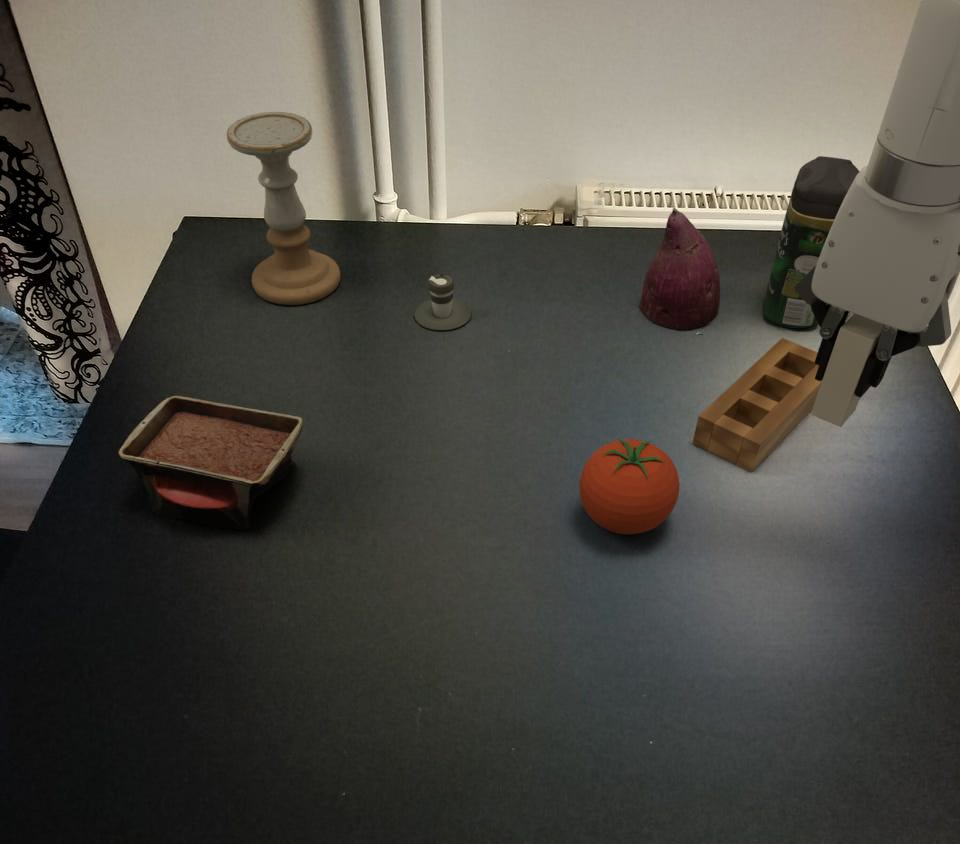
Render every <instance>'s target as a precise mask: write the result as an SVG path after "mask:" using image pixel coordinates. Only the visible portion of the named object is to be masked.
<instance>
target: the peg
mask: <svg viewBox="0 0 960 844" xmlns="http://www.w3.org/2000/svg"><path fill="white" fill-rule="evenodd" d="M882 328H883V324H881V323H879V322H876V321H873V320H870V319H867V318H865V317H862V316H859V315H857V314H854V313H852V315H851V316H850V317H849V318H848V319H847V321H846V322H845V324H844V325H843V326H842V327H841V328H840V330H839V333H838V336H837V339H836V342H835V345H834V348H833V351H832V354H831V357H830V359H829V362H828V365H827V368H826V371H825V374H824V377H823V380H822V383H821V386H820V389H819V391H818V394H817V397H816V400H815V403H814V406H813V409H812V410H811V411H810V415H811V416H814V417H816V418H819V419H820V420H822V421H826V422H828V423H830V424H832V425H834V426H836V427H837V426H838V427H839V428H841V427H842V426H843V425H844V424H845V423H846V422H847V421H848V420H849V418H850V417H852V415H853V414H854V412H856V409H857V407H858V404H859V401H860V399H861V398H860V397H857V396H855V394H854V392H855V390H856V387H857V384H858V382H859V379H860V376H861V374H862V371H863V369H864V366H865V363H866V361H867V359H868V357H869V356H870V355H871V354H872V352H873V351H874V350H875V348H876V346H877V345H878V343H879V339H880V335H881V331H882Z"/></svg>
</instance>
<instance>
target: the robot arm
mask: <svg viewBox="0 0 960 844" xmlns="http://www.w3.org/2000/svg"><path fill="white" fill-rule="evenodd" d="M908 36H909V37H908V39H907V42H906V45H905V48H904V52H903V55H902V59H901V61H900V64H899V67H898V70H897V74H896V77H895V80H894V82H893V86H892V88H891V91H890V96H889V99H888V102H887V105H886V108H885V110H884V114H883V118H882V120H881V124H880V127H879V130H878V134H877V135H876V139H875V143H874V145H873V148H872V152H871V154H870V158H869V161H868V165H865V166H863V167H862V168H861V169H860V170H859V171H860V172H859V173H858V174H857V176H856V177H855V179H854V181H853V183H852V184H851V186H850V188H849V190H848V192H847V194H846V196H845V198H844V200H843V202H842V204H841V206H840V209H839V211H838V213H837V215H836V217H835V220H834V222H833V224H832V227H831V229H830V231H829V234H828V236H827V239H826V241H825V244H824V246H823V249H822V251H821V254H820V257H819V259H818V262H817V265H816V266H815V267H813V268H812V269H811V270H810V271H809V272H808V273H807V274H806V275H805V276H804V277H803V278H802V279H801V280H800V281H799V282H798V283H797V284H796V286H795V291H796V292H797V293H798V295H799V296H800V297H801V298H802V299H803V300H804V301H805V302H806V303H807V304H809V305H810V306H811V310H812V312H813V314H814V316H815V318H816V320H817V322H818V323H817V324H818V326H819V331H818V332H819V336H820V337H821V341H820V343H819V347H818V351H817V352H818V353H817V356H816V359H815V364H817V365H819V367H818V370H817V373H816V376H815V380H818V381H821V380H823V377H824V374H825V371H826V368H827V365H828V362H829V359H830V357H831V354H832V351H833V348H834V345H835V342H836V339H837V336H838V333H839V330H840V328H841V327H842V326H843V325H844V324H845V323H846V322H847V321H848V319H849V316H850V314H851V313H852V314H857V315H859V316H862V317H865V318H867V319H870V320H873V321H876V322H879V323H881V324H883V328H882V331H881V335H880V339H879V343H878V345H877V346H876V348H875V350H874V351H873V352H872V354H871V355H870V356H869V357H868V359H867V361H866V363H865V366H864V369H863V371H862V374H861V376H860V379H859V382H858V384H857V387H856V390H855V392H854V394H855V396H857V397H860V399H862V397H863V396H864V395H865V394H866V393H867V391H868V390H869V389H870V388H871V387H872V388H875V389H876V388H878V387H879V385H880V384H881V383H882V380H883V379H884V376H885V374H886V371H887V369H888V367H889V364H890V361H891V360H892V357H894V356H896V355H899V354H901V353H904V352H907V351H909V350H913V349H915V348H916V347H921V348H922V347H933V346H941V345H943V344H945V343H946V341H947V340H948V339H949V338H950V337H951V336H952V325H951V317H950V308H949V299H950V297H951V295H952V292H953V290H954V288H955V286H956V283H957V280H958V277H959V274H960V0H920V3H919V6H918V9H917V11H916V15H915V17H914V21H913V24H912V27H911V30H910V33H909V35H908Z"/></svg>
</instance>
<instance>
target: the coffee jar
mask: <svg viewBox="0 0 960 844" xmlns="http://www.w3.org/2000/svg"><path fill="white" fill-rule="evenodd" d="M860 171H861V170H859V168H857V166H855V164H854V163H853V162H852V160H851V159H846V158H839V157H832V156H822V155H819V156H817V157H816V158H814V159H811V160H810V161H808V162H806V163H804V164H803V165H802V166H801V167H800V168H799V171H798V173H797V176H796V177H795V181H794V184H793V187H792V191H791V194H790V198H789V201H788V204H787V208H786V212H785V215H784V218H783V222H782V227H781V230H780V233H779V238H778V243H777V246H776V250H775V255H774V259H773V263H772V267H771V271H770V275H769V278H768V283H767V287H766V291H765V294H764V300H763V314H764V317H765V319H766V320H768V321H770V322H772V323H774V324H776V325H778V326H780V327H784V328H788V329H804V328H811V327H812V328H813V327H815V326H816V325H817V324H818V322H817V320H816V318H815V316H814V314H813V312H812V310H811V306H810V305H809V304H807V303H806V302H805V301H804V300H803V299H802V298H801V297H800V296H799V295H798V293H797V292H796V291H795V286H796V284H797V283H798V282H799V281H800V280H801V279H802V278H803V277H804V276H805V275H806V274H807V273H808V272H809V271H810V270H811V269H812V268H813V267H815V266H816V265H817V262H818V259H819V257H820V254H821V251H822V249H823V246H824V244H825V241H826V239H827V236H828V234H829V231H830V229H831V227H832V224H833V222H834V220H835V217H836V215H837V213H838V211H839V209H840V206H841V204H842V202H843V200H844V198H845V196H846V194H847V192H848V190H849V188H850V186H851V184H852V183H853V181H854V179H855V177H856V176H857V174H858V173H859V172H860Z"/></svg>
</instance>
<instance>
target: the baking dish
mask: <svg viewBox="0 0 960 844" xmlns="http://www.w3.org/2000/svg"><path fill="white" fill-rule="evenodd" d="M303 423H304V421H303V417H302V416H299V415H290V414H284V413H280V412H275V411H268V410H262V409H258V408H249V407H242V406H238V405H231V404H226V403H221V402H215V401H214V402H213V401H210V400H204V399H197V398H193V397H189V396H188V397H187V396H183V395H182V396H181V395H173V396H170V397H166V399H164V400H162V401H160V402H159V403H158V404H156V406H155V407H154V408H151V409H150V411H149V412H148V413H147V415H146V416H144V418H143V419H142V420H141V421H140V422H139V423H138V424H137V425H136V426H135V427H134V428H133V430H132V431H131V432H129V433H128V436H127V437H126V439H125V440H124V442H123V444H122V445H121V447H120V448H119V449H118V455H119V457H120V458H121V459H122V460H124V461H126V462H127V463H128V464H129V465H130V466H131V467H132V468H133V470H134V471H135V473H136V474H137V475H138V476H139V478H140V479H141V481H142V483H143V485H144V488H145V491H146V494H147V497H148V500H149V504H150V506H151V512H153V513H155V514H157V515H159V516H164V517H169V518H173V519H178V520H183V521H188V522H194V523H200V524H206V525H210V526H217V527H222V528H223V527H224V528H231V529H232V528H233V529H239V530H249V528H250V524H251V517H252V508H253V501H254V499H256V498H258V497H259V496H260V495H262V494H263V493H265V492H266V491H267V490H268V489H270V488H271V487H273V486H274V485H276V484H277V483H278V482H280V481H281V480H283V479H284V478H286V477H287V476H288V475H290V473H291V472H293V471H294V470H295V469H296V468H297V467H298V464H297V463H296V462H295V461H293V459H292V454H293V452H294V450H295V449H296V446H297V444H298V440H299V439H300V436H301V433H302V431H303Z"/></svg>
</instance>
